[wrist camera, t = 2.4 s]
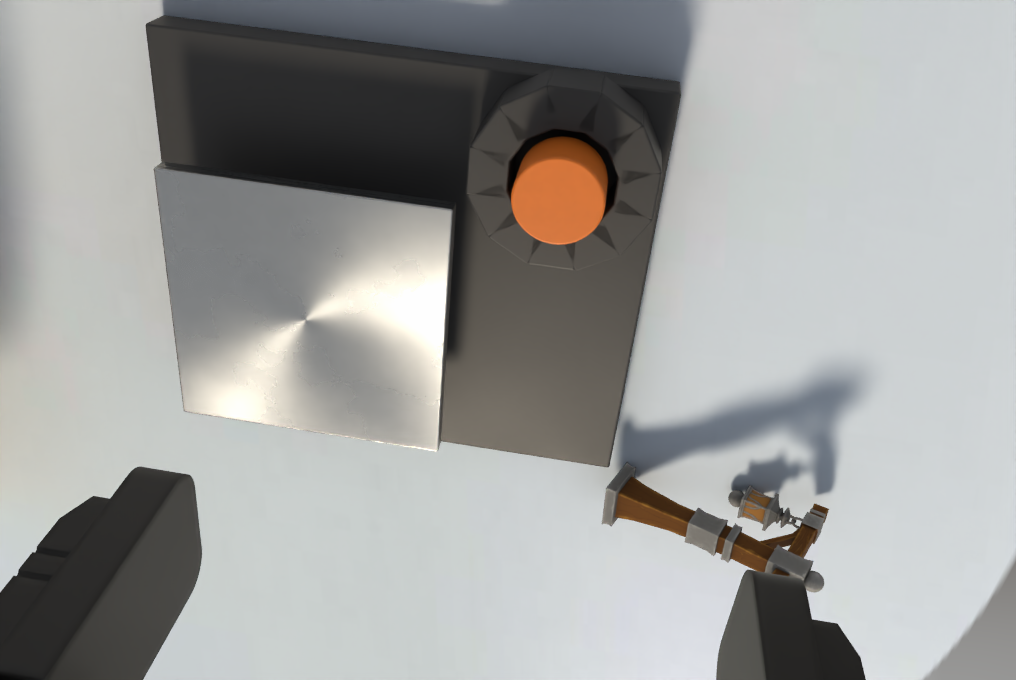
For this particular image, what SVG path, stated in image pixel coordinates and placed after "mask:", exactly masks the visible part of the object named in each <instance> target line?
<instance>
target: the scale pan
mask: <svg viewBox="0 0 1016 680" xmlns="http://www.w3.org/2000/svg"><path fill="white" fill-rule="evenodd" d="M154 173H155V181H156V189H157V197H158V205H159V214H160V222H161V230H162V238H163V246H164V254H165V262H166V270H167V278H168V286H169V294H170V302H171V310H172V318H173V326H174V335H175V343H176V351H177V359H178V367H179V375H180V383H181V391H182V399H183V407H184V411H185V412H191V413H197V414H204V415H210V416H216V417H223V418H229V419H235V420H242V421H248V422H254V423H261V424H267V425H273V426H280V427H286V428H292V429H299V430H305V431H311V432H318V433H324V434H330V435H337V436H343V437H349V438H356V439H362V440H368V441H375V442H381V443H387V444H394V445H400V446H406V447H413V448H419V449H425V450H432V451H438V449H439V446H440V443H441V433H442V418H443V402H444V387H445V371H446V356H447V340H448V324H449V309H450V293H451V278H452V262H453V247H454V231H455V216H456V202H450V201H443V200H436V199H429V198H421V197H414V196H407V195H400V194H393V193H386V192H378V191H371V190H364V189H357V188H350V187H342V186H335V185H328V184H321V183H314V182H307V181H299V180H292V179H285V178H278V177H271V176H263V175H256V174H249V173H242V172H235V171H228V170H220V169H213V168H206V167H199V166H192V165H184V164H177V163H170V162H161V163H160V164H159V165H157V166H156V167H155V168H154Z"/></svg>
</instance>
